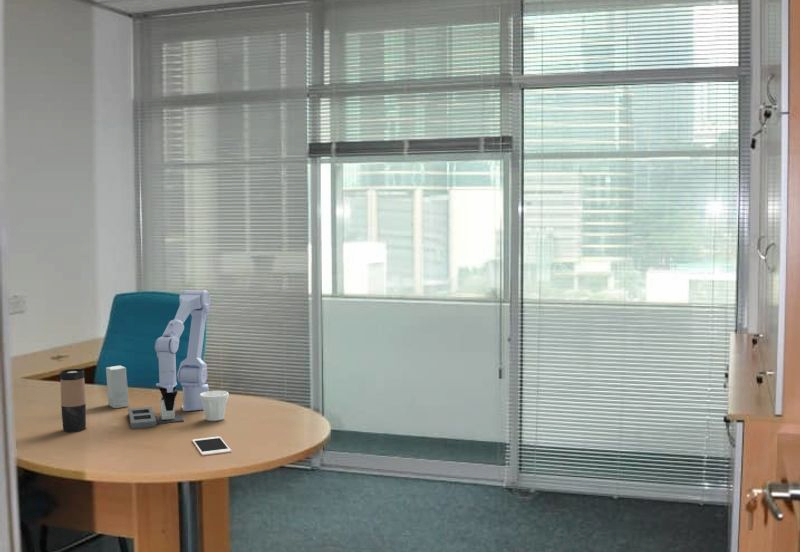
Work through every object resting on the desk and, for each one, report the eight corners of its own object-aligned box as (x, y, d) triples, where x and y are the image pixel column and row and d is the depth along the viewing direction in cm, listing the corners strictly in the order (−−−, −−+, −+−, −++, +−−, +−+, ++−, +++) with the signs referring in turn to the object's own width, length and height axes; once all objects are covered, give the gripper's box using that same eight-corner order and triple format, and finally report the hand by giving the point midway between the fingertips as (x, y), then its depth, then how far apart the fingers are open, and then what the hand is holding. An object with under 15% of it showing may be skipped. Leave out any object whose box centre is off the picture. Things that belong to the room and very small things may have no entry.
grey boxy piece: (174, 416, 294) (174, 396, 294) (176, 419, 289) (176, 399, 289) (159, 417, 292) (159, 397, 292) (160, 419, 287) (160, 399, 287)
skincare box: (129, 406, 311) (127, 367, 310) (112, 409, 308) (111, 369, 307) (123, 402, 318) (121, 364, 317) (106, 404, 315) (105, 366, 314)
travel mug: (91, 427, 281) (89, 369, 280) (75, 433, 274) (73, 373, 273) (73, 425, 284) (70, 368, 282) (57, 431, 277) (54, 372, 275)
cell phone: (202, 457, 247) (202, 454, 247) (191, 442, 263) (191, 439, 263) (231, 453, 250) (231, 450, 250) (219, 439, 267) (219, 436, 267)
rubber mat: (180, 415, 297) (180, 414, 297) (183, 421, 288) (183, 420, 288) (154, 418, 294) (154, 417, 293) (156, 424, 285) (156, 422, 285)
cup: (222, 423, 285) (221, 397, 284) (195, 422, 287) (194, 396, 286) (233, 416, 294) (233, 391, 294) (207, 415, 296) (206, 390, 296)
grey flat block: (151, 412, 302) (151, 406, 302) (156, 426, 282) (156, 420, 282) (128, 414, 299) (128, 408, 299) (131, 429, 279) (131, 423, 279)
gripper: (154, 367, 295) (155, 405, 296) (157, 375, 281) (158, 414, 282) (174, 366, 297) (175, 403, 298) (178, 373, 284) (179, 412, 285)
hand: (168, 408), depth 291 cm, fingers closed on grey boxy piece, 5 cm apart
